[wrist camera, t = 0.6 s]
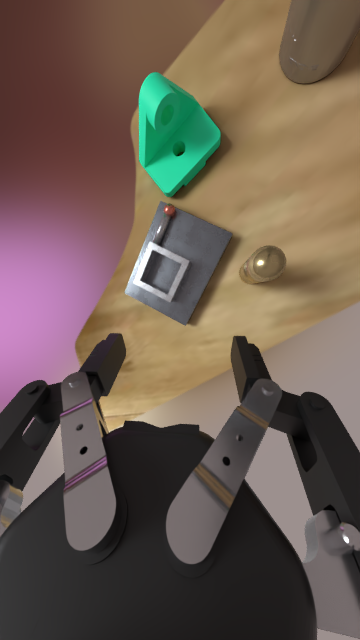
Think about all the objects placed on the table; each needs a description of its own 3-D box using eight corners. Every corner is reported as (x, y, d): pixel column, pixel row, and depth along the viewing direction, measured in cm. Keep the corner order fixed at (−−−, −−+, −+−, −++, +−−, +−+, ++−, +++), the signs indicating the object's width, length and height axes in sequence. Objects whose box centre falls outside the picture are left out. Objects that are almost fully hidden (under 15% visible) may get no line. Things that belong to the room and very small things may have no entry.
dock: (164, 205, 34) (155, 193, 30) (231, 236, 32) (233, 228, 28) (129, 292, 38) (117, 293, 34) (187, 323, 37) (182, 328, 32)
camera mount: (170, 202, 34) (149, 167, 24) (145, 170, 34) (113, 122, 24) (223, 147, 31) (224, 80, 21) (195, 111, 31) (182, 27, 21)
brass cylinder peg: (246, 257, 32) (262, 237, 20) (267, 266, 32) (296, 253, 20) (235, 277, 33) (243, 271, 21) (255, 287, 33) (275, 287, 21)
